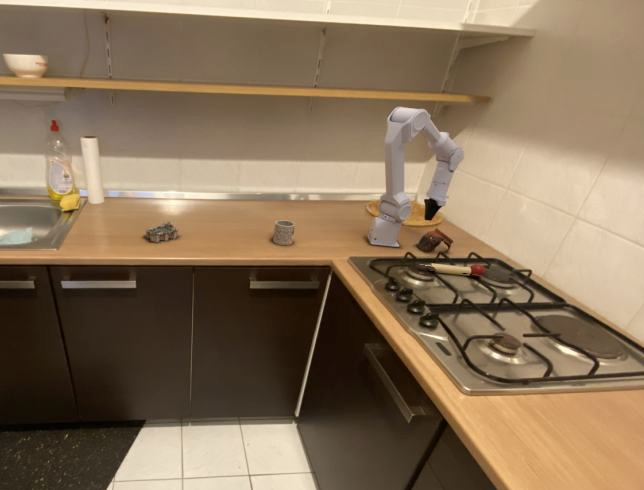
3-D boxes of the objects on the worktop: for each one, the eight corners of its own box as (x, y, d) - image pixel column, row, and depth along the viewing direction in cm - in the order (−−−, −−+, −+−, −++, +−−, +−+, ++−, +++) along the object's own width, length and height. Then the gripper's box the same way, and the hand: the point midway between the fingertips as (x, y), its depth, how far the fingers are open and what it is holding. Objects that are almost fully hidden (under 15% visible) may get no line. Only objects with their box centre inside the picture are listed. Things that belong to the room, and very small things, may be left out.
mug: (294, 244, 133) (297, 226, 129) (276, 245, 132) (279, 226, 128) (284, 234, 141) (287, 216, 138) (267, 234, 140) (269, 217, 137)
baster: (419, 273, 117) (424, 263, 115) (417, 265, 120) (422, 255, 117) (482, 280, 115) (489, 270, 112) (478, 271, 118) (485, 262, 115)
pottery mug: (415, 243, 140) (433, 225, 136) (436, 260, 137) (456, 242, 134) (414, 245, 130) (434, 225, 126) (437, 263, 127) (458, 244, 123)
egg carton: (170, 231, 139) (170, 220, 137) (180, 238, 134) (180, 227, 132) (143, 236, 134) (143, 224, 132) (152, 243, 129) (152, 231, 127)
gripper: (461, 188, 126) (446, 227, 133) (445, 178, 139) (433, 214, 146) (438, 186, 127) (425, 225, 134) (425, 177, 140) (413, 213, 147)
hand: (427, 219), depth 140 cm, fingers closed
